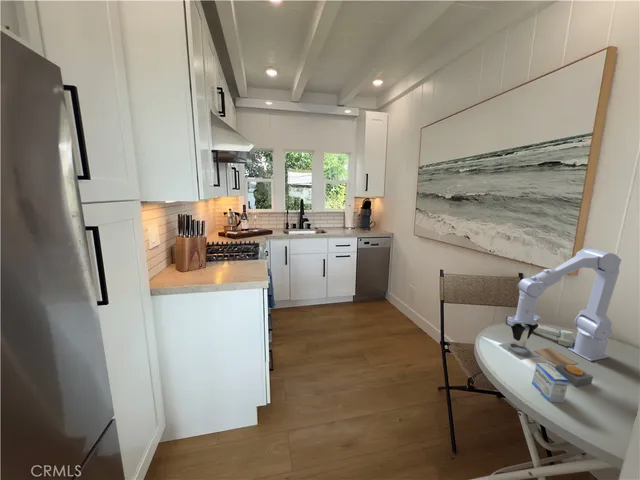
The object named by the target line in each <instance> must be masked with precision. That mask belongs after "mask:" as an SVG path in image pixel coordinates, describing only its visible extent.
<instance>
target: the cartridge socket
mask: <svg viewBox="0 0 640 480" xmlns="http://www.w3.org/2000/svg"><path fill="white" fill-rule="evenodd" d="M498 346H499V347H501V348H502V349H504V350H505V351H507V352H508V353H510V354H511V355H513V356H514V357H515V358H517V359H519V360H520V361H523V360H527V359H531V358H536V357H541V355H539V354H537V353H536V352H534V350H531V349H530V348H529V347H528V346H527V345H526V346H525V347H522V346H518V345H516V344H515V343H514V341H511V342H506V343H501V344H500V343H499V344H498Z"/></svg>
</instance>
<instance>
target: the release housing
mask: <svg viewBox="0 0 640 480" xmlns="http://www.w3.org/2000/svg"><path fill="white" fill-rule="evenodd" d="M566 365H573V364H571V363H568V364H564V365H559V366H557V365H555V367H554V368H555V369H556V370H557V371H558V372H559V373H561V374H562V375H563V376H564V377H565V378H566V379H568V380H569V382H568V383H570V384H572V385H573V386H574V387H575V388H579V387H584V386H588V385H591V384H592V382H593V379H594V376H593V375H591V374H590V373H588V372H587V371H585V370H583V369H581V370H582V371H583V372H584V373H583V375H579V376H575V375H574V374H572V373H570V372H569V371H567V370H566V368H565V367H566ZM573 366H575V364H574V365H573Z"/></svg>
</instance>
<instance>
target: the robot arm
mask: <svg viewBox="0 0 640 480" xmlns="http://www.w3.org/2000/svg"><path fill="white" fill-rule="evenodd" d="M621 261H622V259H621V258H620V257H619V256H618V255H617V254H616V253H613V252H606V251H604V250H600V249H596V248H593V247H590V246H589V247H584V248H582V249H580V250H578V251H577V252H576V254H575V256H573V257H572V258H570V259H568V260H567V261H565V262H563V263H562V264H560V265H558V266H557V267H555V268H544V269H543V270H542V271H541V272H539V273H537V274H535V275H532V276H531V277H526V278H523V279H521V280H520V281H518V282H519V283H517V285H516V286H517V288H518V290H519V293H518V294H519V296H518V302H517V307H516V312H515V313H516V314H515V315H514V316H512V318H511V319H508V322H507V324H506V325H509V326H510V327H511V330H512V337H513V340H514V339H516V340H517V341H519V340H520V338H521V335H522V333H523V331H524V330H525V329H526V328H525V327H523V326H522V325H521V324H525V325H527V326H529V327H530V329H529V332H528V337H527V340H529V339H530V337H531V335H532V333H533V332H535V331H534V330H535V329H536V328H537V327H538V323H539V322H541V320H542V319H541V316H539V315H537V314H536V309H537V304H538V300H539V299H538V298H539V296H542V295H543V294H544V292H545V291H546V290H547V289H548V288H549V287H552V286H553V285H555V284H557V283H559V282H561V280H562V277H564V276H566V275H568V274H571V273H572V272H573V273H574V272H575V271H578V270H580V269H582V268H584V269H585V268H586V269H592V270H594V272H595V273H596V275H595V278H594V282H593V286H592V287H591V288H592V290H591V291H590V295H589V299H588V303H587V306H586V309H581V310H579V312H578V315H576V317H575V319H574V321H573V322H574V325H575V326H576V330H577V334H576V338H575V340H576V341H575V346H574V347H571V346H570V347H568V348H567V349H568V350H569V351H570V352H572V353H575V355H578V356H580V357H582V358H583V359H585V360H587V361H589V362H593V361H598V360H602V359H606V358H608V356H607V355H605V354H606V350H607V347H608V343H609V342H608V338H609V337H611V335H612V334H613V330H612V329H613V328H612V326H613V322H612V321H611V319H610V318H609V316H608V315H607V312H608V310H609V305H610V303H611V299H612V297H613V293H614V291H615V286H616V283H617V281H618V278H619V274H620V265H621ZM536 322H537V323H536Z"/></svg>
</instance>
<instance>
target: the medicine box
mask: <svg viewBox="0 0 640 480" xmlns="http://www.w3.org/2000/svg"><path fill="white" fill-rule="evenodd" d="M555 368H556V367H554V366H552V365H551V364H550V363H547V362H546V363H545V362H536V364H535V369H534V371H533V375H532V380H531V384H532V386H533V387H534V388H536V389H537V391H538V392H539V393H540V394H541V395H542V396H543V397H544V398H545V399H546V401H548V402H549V403H558V404H560V403H563V404H564V400H565V397H566V392H567V389H568V384H569V383H570V382H569V380H568V379H566V378H565V377H564V376H563V375H562V374H561V373H559V372H558V371H557V370H556V369H555Z"/></svg>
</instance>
